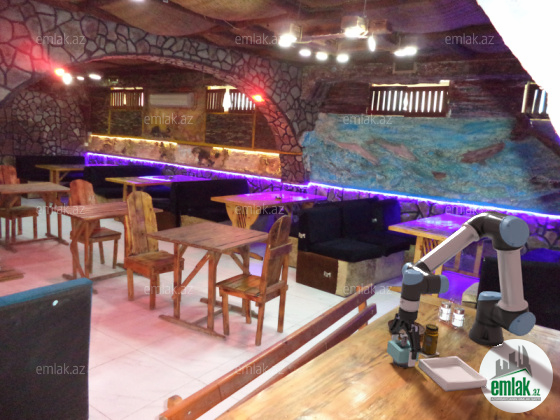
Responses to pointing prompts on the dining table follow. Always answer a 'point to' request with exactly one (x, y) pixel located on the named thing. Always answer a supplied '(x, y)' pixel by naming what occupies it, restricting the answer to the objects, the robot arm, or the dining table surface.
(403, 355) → the collar
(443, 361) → the tray
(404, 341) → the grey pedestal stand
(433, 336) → the condiment
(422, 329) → the plant saucer
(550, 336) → the dining table surface
